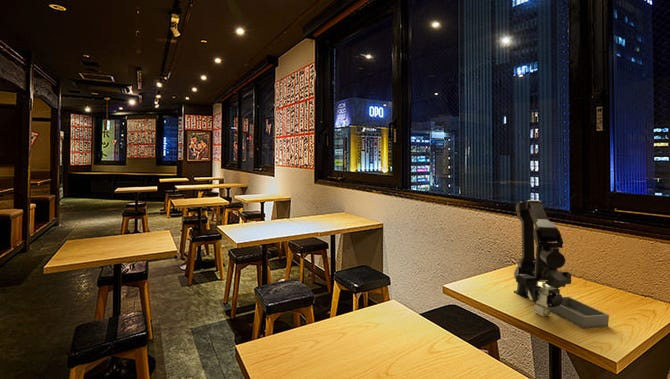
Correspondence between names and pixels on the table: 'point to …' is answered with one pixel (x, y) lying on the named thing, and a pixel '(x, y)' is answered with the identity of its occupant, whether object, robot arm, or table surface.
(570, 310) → the bin
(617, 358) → the table surface
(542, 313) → the pneumatic valve
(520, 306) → the table surface
